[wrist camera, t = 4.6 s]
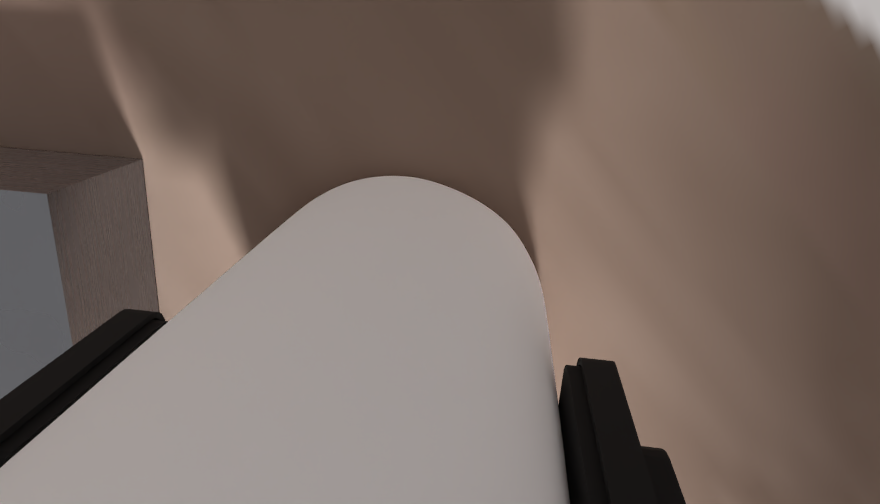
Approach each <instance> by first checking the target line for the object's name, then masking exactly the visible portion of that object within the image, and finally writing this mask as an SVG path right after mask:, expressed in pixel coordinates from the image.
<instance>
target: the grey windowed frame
mask: <svg viewBox="0 0 880 504" xmlns="http://www.w3.org/2000/svg"><path fill="white" fill-rule="evenodd" d="M124 309H135V310H144V311H153V312H159V308H158V299H157V290H156V281H155V272H154V263H153V254H152V245H151V236H150V227H149V218H148V209H147V200H146V191H145V182H144V173H143V164H142V159H132V158H120V157H109V156H97V155H86V154H74V153H63V152H51V151H40V150H28V149H17V148H5V147H0V399H1V398H3V397H4V396H5V395H7V394H8V393H9V392H11V391H12V390H13V389H15V388H16V387H18V386H19V385H20V384H22V383H23V382H24V381H26V380H27V379H28V378H30V377H31V376H33V375H34V374H35V373H37V372H38V371H39V370H41V369H42V368H43V367H45V366H46V365H48V364H49V363H50V362H52V361H53V360H54V359H56V358H57V357H58V356H60V355H61V354H63V353H64V352H65V351H67V350H68V349H69V348H71V347H72V346H73V345H75V344H76V343H78V342H79V341H80V340H82V339H83V338H84V337H86V336H87V335H88V334H90V333H91V332H93V331H94V330H95V329H97V328H98V327H99V326H101V325H102V324H103V323H105V322H106V321H108V320H109V319H110V318H112V317H113V316H114V315H116V314H117V313H118V312H120V311H122V310H124Z"/></svg>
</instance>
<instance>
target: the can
mask: <svg viewBox="0 0 880 504" xmlns="http://www.w3.org/2000/svg"><path fill="white" fill-rule="evenodd" d="M0 504H570V498H569V489H568V481H567V473H566V464H565V456H564V448H563V440H562V432H561V423H560V415H559V407H558V399H557V391H556V383H555V375H554V367H553V359H552V352H551V344H550V336H549V329H548V322H547V315H546V308H545V302H544V296H543V291H542V287H541V284H540V280H539V277H538V274H537V272H536V269H535V266H534V264H533V262H532V260H531V258H530V256H529V254H528V252H527V250H526V248H525V247H524V245H523V243H522V242H521V240H520V239H519V237H518V236H517V234H516V233H515V232H514V230H513V229H512V228H511V227H510V226H509V225H508V224H507V223H506V222H505V221H504V220H503V219H502V218H501V217H500V216H499V215H497V214H496V213H495V212H494V211H492V210H491V209H490V208H488V207H487V206H485V205H484V204H482V203H480V202H479V201H477V200H475V199H474V198H472V197H470V196H468V195H466V194H464V193H462V192H459V191H457V190H455V189H452V188H450V187H447V186H445V185H442V184H439V183H436V182H432V181H429V180H425V179H420V178H415V177H407V176H379V177H371V178H365V179H360V180H356V181H352V182H349V183H346V184H343V185H341V186H338V187H336V188H333V189H331V190H329V191H327V192H325V193H324V194H322V195H320V196H318V197H317V198H315V199H314V200H312V201H311V202H309V203H308V204H306V205H305V206H304V207H303V208H301V209H300V210H299V211H297V212H296V213H295V214H294V215H292V216H291V217H290V218H289V219H288V220H286V221H285V222H284V223H283V224H282V225H280V226H279V227H278V228H277V229H276V230H274V231H273V232H272V233H271V234H270V235H269V236H267V237H266V238H265V239H264V240H263V241H262V242H260V243H259V244H258V245H257V246H256V247H254V248H253V249H252V250H251V251H250V252H249V253H247V254H246V255H245V256H244V257H243V258H242V259H240V260H239V261H238V262H237V263H236V264H235V265H233V266H232V267H231V268H230V269H229V270H228V271H227V272H225V273H224V274H223V275H222V276H221V277H220V278H218V279H217V280H216V281H215V282H214V283H213V284H211V285H210V286H209V287H208V288H207V289H206V290H204V291H203V292H202V293H201V294H200V295H199V296H197V297H196V298H195V299H194V300H193V301H192V302H190V303H189V304H188V305H187V306H186V307H185V308H184V309H182V310H181V311H180V312H179V313H178V314H177V315H175V316H174V317H173V318H172V319H171V320H170V321H169V322H167V323H166V324H165V325H164V326H163V327H162V328H160V329H159V330H158V331H157V332H156V333H155V334H154V335H152V336H151V337H150V338H149V339H148V340H147V341H145V342H144V343H143V344H142V345H141V346H140V347H139V348H137V349H136V350H135V351H134V352H133V353H132V354H130V355H129V356H128V357H127V358H126V359H125V360H124V361H122V362H121V363H120V364H119V365H118V366H117V367H115V368H114V369H113V370H112V371H111V372H110V373H109V374H107V375H106V376H105V377H104V378H103V379H102V380H100V381H99V382H98V383H97V384H96V385H95V386H94V387H92V388H91V389H90V390H89V391H88V392H87V393H86V394H84V395H83V396H82V397H81V398H80V399H79V400H78V401H76V402H75V403H74V404H73V405H72V406H71V407H70V408H68V409H67V410H66V411H65V412H64V413H63V414H61V415H60V416H59V417H58V418H57V419H56V420H55V421H53V422H52V423H51V424H50V425H49V426H48V427H47V428H45V429H44V430H43V431H42V432H41V433H40V434H39V435H37V436H36V437H35V438H34V439H33V440H32V441H31V442H29V443H28V444H27V445H26V446H25V447H24V448H22V449H21V450H20V451H19V452H18V453H17V454H16V455H14V456H13V457H12V458H11V459H10V460H9V461H8V462H6V463H5V464H4V465H3V466H2V467H1V468H0Z"/></svg>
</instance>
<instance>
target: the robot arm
mask: <svg viewBox="0 0 880 504" xmlns="http://www.w3.org/2000/svg"><path fill="white" fill-rule="evenodd" d="M167 322H168V321H165V319H164V317H163V315H162V314H161V313H159V312H153V311H144V310H135V309H124V310H122V311H120V312H118V313H117V314H116V315H114V316H113V317H112V318H110V319H109V320H108V321H106V322H105V323H103V324H102V325H101V326H99V327H98V328H97V329H95V330H94V331H93V332H91V333H90V334H88V335H87V336H86V337H84V338H83V339H82V340H80V341H79V342H78V343H76V344H75V345H73V346H72V347H71V348H69V349H68V350H67V351H65V352H64V353H63V354H61V355H60V356H58V357H57V358H56V359H54V360H53V361H52V362H50V363H49V364H48V365H46V366H45V367H43V368H42V369H41V370H39V371H38V372H37V373H35V374H34V375H33V376H31V377H30V378H28V379H27V380H26V381H24V382H23V383H22V384H20V385H19V386H18V387H16V388H15V389H13V390H12V391H11V392H9V393H8V394H7V395H5V396H4V397H3V398H1V399H0V468H1V467H2V466H3V465H4V464H5V463H6V462H8V461H9V460H10V459H11V458H12V457H13V456H14V455H16V454H17V453H18V452H19V451H20V450H21V449H22V448H24V447H25V446H26V445H27V444H28V443H29V442H31V441H32V440H33V439H34V438H35V437H36V436H37V435H39V434H40V433H41V432H42V431H43V430H44V429H45V428H47V427H48V426H49V425H50V424H51V423H52V422H53V421H55V420H56V419H57V418H58V417H59V416H60V415H61V414H63V413H64V412H65V411H66V410H67V409H68V408H70V407H71V406H72V405H73V404H74V403H75V402H76V401H78V400H79V399H80V398H81V397H82V396H83V395H84V394H86V393H87V392H88V391H89V390H90V389H91V388H92V387H94V386H95V385H96V384H97V383H98V382H99V381H100V380H102V379H103V378H104V377H105V376H106V375H107V374H109V373H110V372H111V371H112V370H113V369H114V368H115V367H117V366H118V365H119V364H120V363H121V362H122V361H124V360H125V359H126V358H127V357H128V356H129V355H130V354H132V353H133V352H134V351H135V350H136V349H137V348H139V347H140V346H141V345H142V344H143V343H144V342H145V341H147V340H148V339H149V338H150V337H151V336H152V335H154V334H155V333H156V332H157V331H158V330H159V329H160V328H162V327H163V326H164V325H165V324H166V323H167ZM558 407H559V415H560V423H561V432H562V440H563V448H564V456H565V464H566V473H567V481H568V489H569V498H570V504H686V502H685V500H684V497H683V494H682V491H681V489H680V486H679V483H678V481H677V478H676V475H675V472H674V470H673V467H672V464H671V461H670V459H669V457H668V455H667V453H666V451H665V450H663V449H661V448H652V447H644V446H641V445H640V442H639V439H638V436H637V432H636V429H635V426H634V422H633V419H632V416H631V413H630V409H629V406H628V403H627V400H626V396H625V393H624V390H623V387H622V383H621V380H620V377H619V374H618V370H617V367H616V364H615V362H614V361H606V360H597V359H588V358H579V359H578V362H577V366H571V365H566V366H565V368H564V373H563V379H562V386H561V392H560V399H559V405H558Z"/></svg>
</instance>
